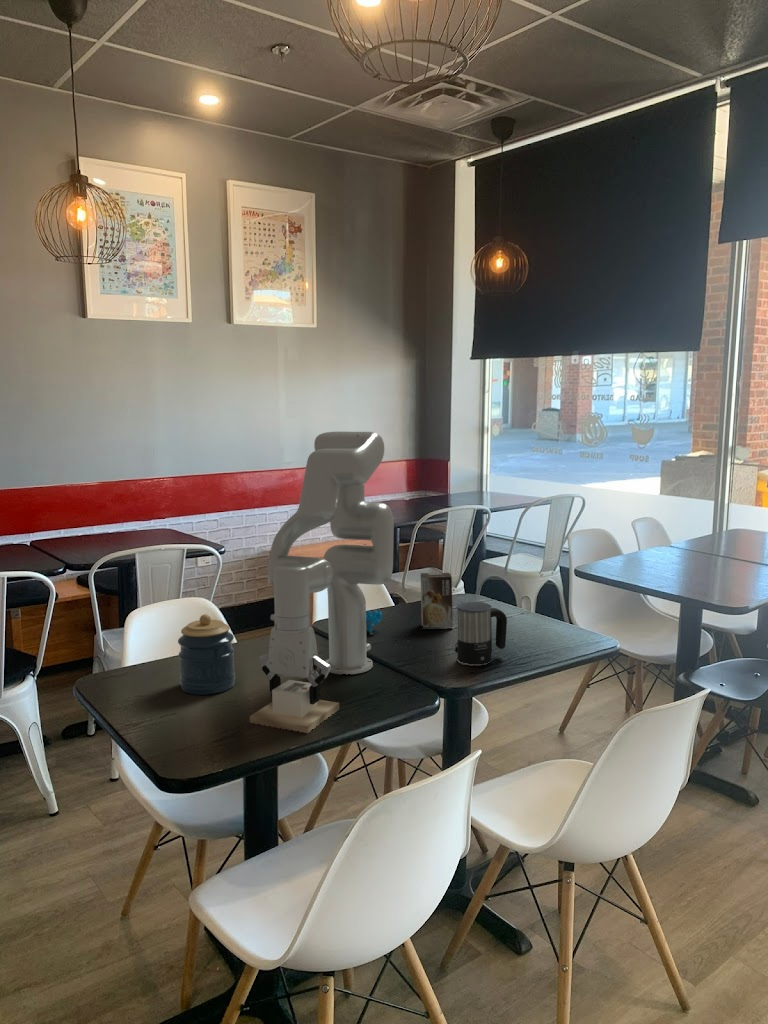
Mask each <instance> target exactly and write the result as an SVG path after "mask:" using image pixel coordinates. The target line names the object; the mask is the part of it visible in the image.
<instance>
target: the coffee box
mask: <svg viewBox="0 0 768 1024" xmlns="http://www.w3.org/2000/svg"><path fill="white" fill-rule="evenodd" d="M452 579H453V577H452V574H451V573H450V572H423V573H422V572H420V603H421V604H420V605H421V607H420V610H421V613H420V614H421V627H422V626H423V627H453V625H454V624H453V581H452ZM453 628H454V627H453Z"/></svg>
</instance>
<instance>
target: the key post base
mask: <svg viewBox="0 0 768 1024" xmlns="http://www.w3.org/2000/svg"><path fill="white" fill-rule="evenodd" d="M300 688H301V686H295V687H294V688H292V689H291V690H289V691H291V692H295V691H296V690H298V689H300ZM339 710H340V702H338V701H337V702H336V701H331V700H330V701H329V700H324V699H319V701H318V702H317V707H315V708H314V709H313V710H311V711H310V712H308V713H307V714H306V715H304V716H303V717H301V718H300V717H294V716H289V715H283V714H277V713H273V705H272V701H271V702H270V703H268V704H267V705H265V706H264V707H262V708H260V709H259V710H257V711H256V712H254V713H252V714H251V715H250V716H249V723H250V724H253V723H254V725H258V724H260V726H264V725H265V726H264V727H269V726H271V727H270V728H275V727H276V729H280V728H281V730H286V729H287V731H291V730H293V732H297V731H299V732H298V733H302V732H303V734H309V733H311V730H312V729H313V730H314V729H315V728H317V727H318V726H319V725H321V724H323V722H324V720H325V721H326V720H328V719H329V718H330V717H331V716H333V715H334V714H336V713H337V712H338V711H339ZM332 714H333V715H332ZM328 717H329V718H328ZM320 723H321V724H320ZM316 726H317V727H316Z"/></svg>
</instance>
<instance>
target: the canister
mask: <svg viewBox="0 0 768 1024" xmlns="http://www.w3.org/2000/svg"><path fill="white" fill-rule="evenodd" d="M230 628H231V627H230V626H229V625H228V624H227V623H225V622H224V621H222V620H219V619H218V620H217V619H211V616H210V615H209V614H204V613H203V614H202V615H201V616H200V617H199V620H195V621H191V622H189V623H188V624H186V626H184V627H182V628H181V629H180V633H181V634H182V635H181V636H180V637H179V638H178V639H177V642H178V643H177V644H179V646H180V651H179V652H178V657H179V672H180V673H179V676H180V677H179V685H180V687H181V690H182V691H183V692H184V693H186V694H187V693H188V694H191V695H200V696H201V695H207V696H208V695H214V694H219V693H223V692H226V691H228V690H230V689H231V688H232V687H234V685H235V680H236V673H235V657H234V655H235V649H234V647H233V644H232V641H233V640H234V638H235V636H234V634H232V633H231V632H229V631H230Z"/></svg>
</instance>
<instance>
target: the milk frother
mask: <svg viewBox="0 0 768 1024" xmlns="http://www.w3.org/2000/svg"><path fill="white" fill-rule="evenodd" d="M455 608H456V610H457V642H456V643H455V649H456V648H457V649H458V650H457V649H456V650H457V658H456V660H457V659H458V660H459V661H460V662H463V663H468V664H484V663H488V662H490V661H491V660H492V661H493V658H492V652H493V644H492V642H493V641H492V637H493V636H492V632H493V631H492V618H494V617H495V619H496V620H495V621H496V625H495V647H496V648H498V649H500V650H503V649H504V648H506V642H507V641H506V639H507V624H508V619H507V615H506V614H505V613H504V611H502V610H501V609H499V608H495V607H492V605H491V604H489V603H486V602H481V601H480V602H479V601H478V602H477V601H470V602H469V601H467V602H461V603H458V604H457V605H456V606H455Z"/></svg>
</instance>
